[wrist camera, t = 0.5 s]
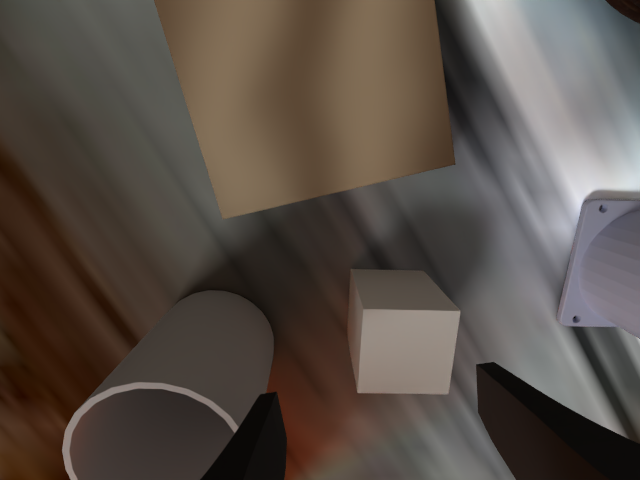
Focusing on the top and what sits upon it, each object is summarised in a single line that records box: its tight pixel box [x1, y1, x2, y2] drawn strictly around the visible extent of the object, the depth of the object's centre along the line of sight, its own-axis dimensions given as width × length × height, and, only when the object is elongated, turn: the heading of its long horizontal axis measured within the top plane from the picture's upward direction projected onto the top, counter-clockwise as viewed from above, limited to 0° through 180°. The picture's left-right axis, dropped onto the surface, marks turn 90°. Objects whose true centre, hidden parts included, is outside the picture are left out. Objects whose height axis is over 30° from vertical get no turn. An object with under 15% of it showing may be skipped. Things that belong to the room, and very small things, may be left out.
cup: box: [62, 290, 274, 480], centre depth 18 cm, size 7×10×9 cm
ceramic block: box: [347, 269, 461, 394], centre depth 19 cm, size 4×4×6 cm
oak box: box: [154, 0, 455, 219], centre depth 17 cm, size 12×12×3 cm
